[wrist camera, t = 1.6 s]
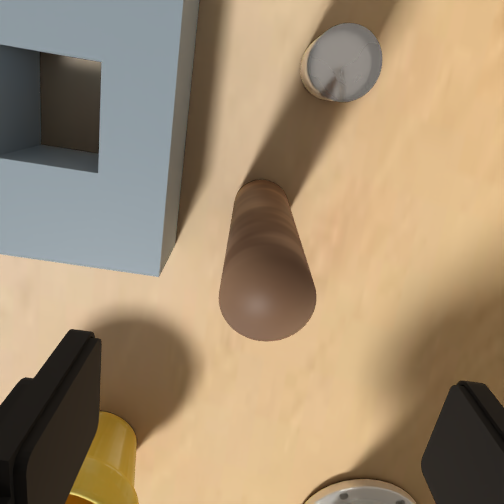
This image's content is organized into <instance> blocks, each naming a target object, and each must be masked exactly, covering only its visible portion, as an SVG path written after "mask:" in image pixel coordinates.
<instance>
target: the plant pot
mask: <svg viewBox="0 0 504 504" xmlns="http://www.w3.org/2000/svg"><path fill="white" fill-rule="evenodd" d="M136 447H137V441H136V436H135V433H134V431H133V429H132V428H131V426H130V425H129V424H128V423H127V422H126V421H124V420H123V419H122V418H120V417H118V416H116V415H114V414H112V413H109V412H102V411H99V423H98V428H97V432H96V435H95V437H94V439H93V441H92V444H91V446H90V448H89V451H88V453H87V455H86V457H85V460H84V462H83V464H82V466H81V469H80V471H79V473H78V475H77V478H76V480H75V482H74V484H73V487H72V489H71V491H70V494H69V496H68V498H67V500H66V503H65V504H139V503H138V498H137V494H136V492H135V489H134V478H135V462H136Z"/></svg>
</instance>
